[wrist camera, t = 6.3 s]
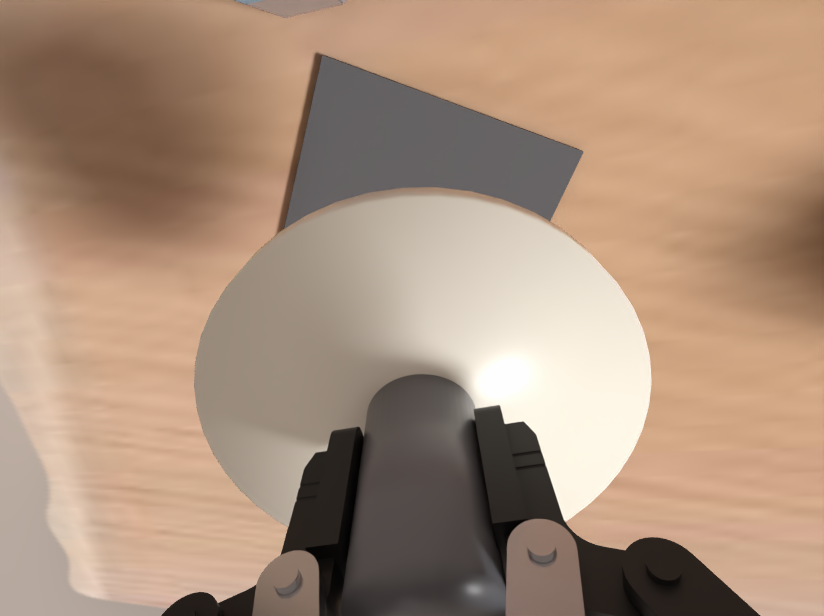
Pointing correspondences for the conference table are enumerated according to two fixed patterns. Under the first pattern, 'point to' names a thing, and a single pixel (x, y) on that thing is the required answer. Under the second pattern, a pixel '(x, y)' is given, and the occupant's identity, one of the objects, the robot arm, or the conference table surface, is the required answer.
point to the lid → (421, 379)
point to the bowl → (291, 6)
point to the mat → (417, 147)
